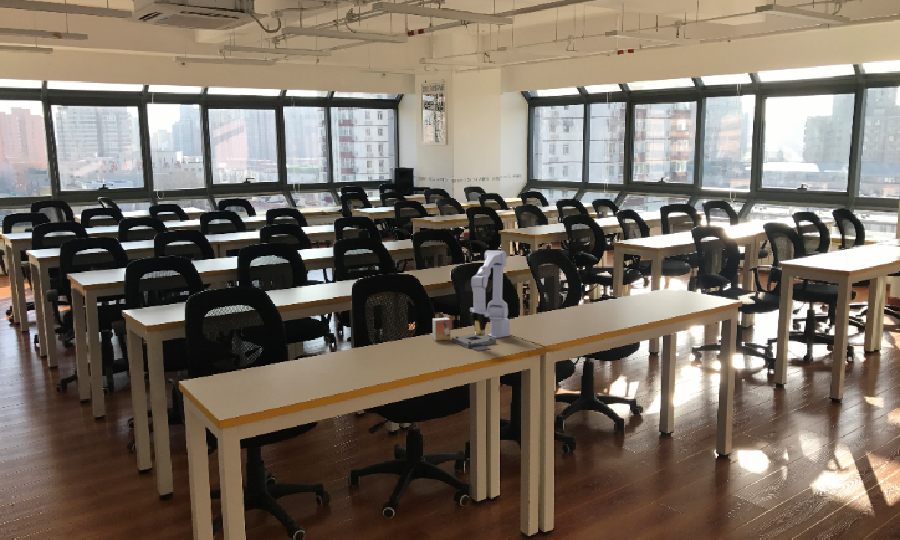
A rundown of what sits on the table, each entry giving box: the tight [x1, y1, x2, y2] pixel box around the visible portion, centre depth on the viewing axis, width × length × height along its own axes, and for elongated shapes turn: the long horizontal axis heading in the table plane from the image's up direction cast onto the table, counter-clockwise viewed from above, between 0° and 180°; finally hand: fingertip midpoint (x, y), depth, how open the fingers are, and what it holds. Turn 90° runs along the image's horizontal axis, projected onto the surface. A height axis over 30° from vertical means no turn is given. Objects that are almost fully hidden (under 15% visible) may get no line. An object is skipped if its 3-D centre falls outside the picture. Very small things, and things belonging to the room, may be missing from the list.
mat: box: [469, 345, 492, 352], centre depth 338 cm, size 7×7×1 cm
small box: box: [432, 316, 452, 342], centre depth 357 cm, size 8×6×10 cm
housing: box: [451, 333, 497, 349], centre depth 350 cm, size 16×16×2 cm
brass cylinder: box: [474, 319, 486, 336], centre depth 338 cm, size 5×5×7 cm
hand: (479, 328), depth 338 cm, fingers closed on brass cylinder, 5 cm apart
